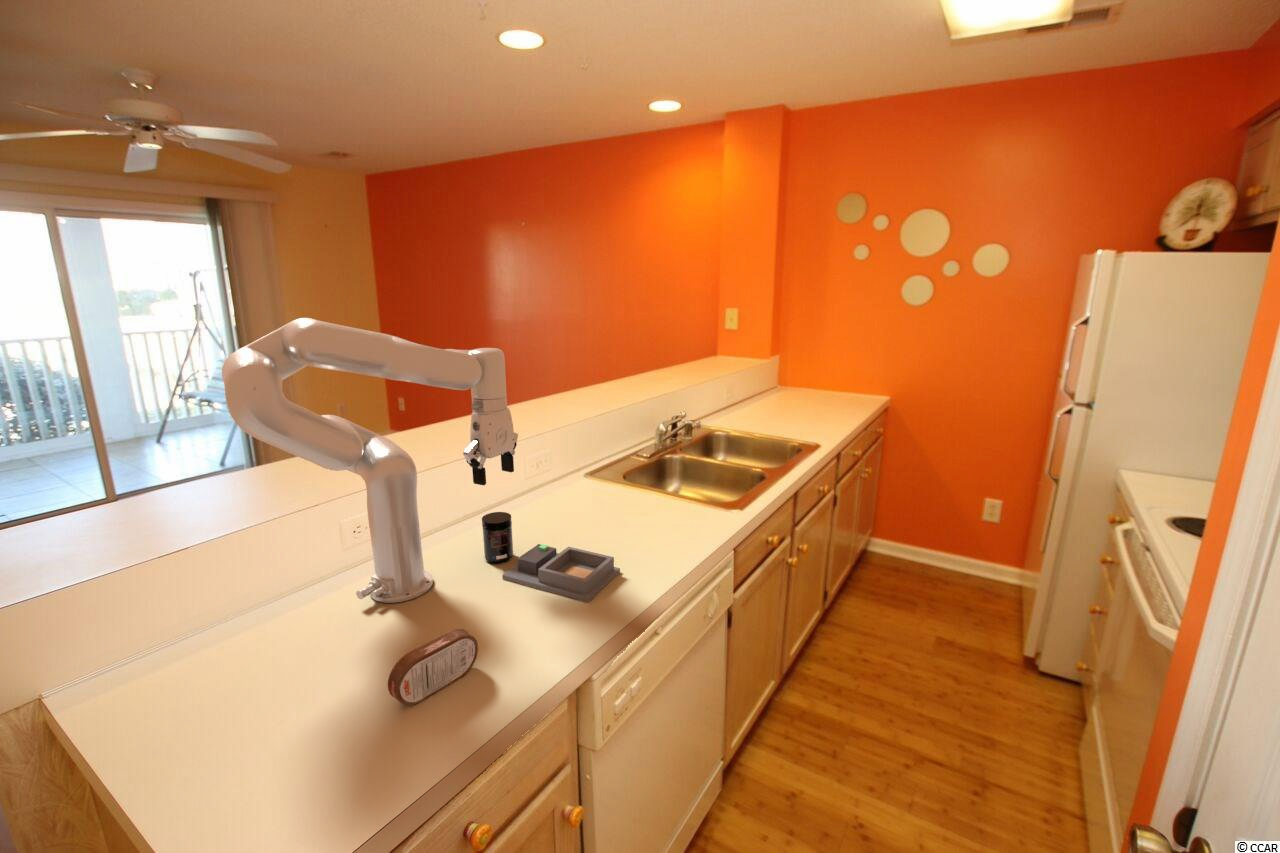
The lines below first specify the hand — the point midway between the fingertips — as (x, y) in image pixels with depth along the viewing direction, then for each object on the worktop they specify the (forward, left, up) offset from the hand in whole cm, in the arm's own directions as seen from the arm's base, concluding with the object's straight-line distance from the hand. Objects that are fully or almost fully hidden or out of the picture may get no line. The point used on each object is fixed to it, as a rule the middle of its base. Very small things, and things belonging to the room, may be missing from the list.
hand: (494, 477), depth 133 cm
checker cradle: (0, -18, -20) cm, 27 cm away
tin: (-40, -20, -21) cm, 49 cm away
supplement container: (0, 0, -21) cm, 20 cm away
